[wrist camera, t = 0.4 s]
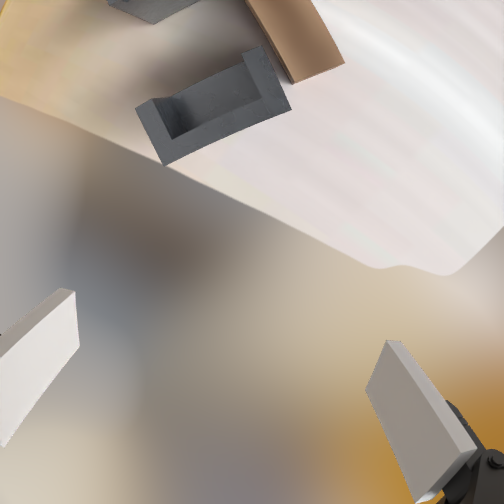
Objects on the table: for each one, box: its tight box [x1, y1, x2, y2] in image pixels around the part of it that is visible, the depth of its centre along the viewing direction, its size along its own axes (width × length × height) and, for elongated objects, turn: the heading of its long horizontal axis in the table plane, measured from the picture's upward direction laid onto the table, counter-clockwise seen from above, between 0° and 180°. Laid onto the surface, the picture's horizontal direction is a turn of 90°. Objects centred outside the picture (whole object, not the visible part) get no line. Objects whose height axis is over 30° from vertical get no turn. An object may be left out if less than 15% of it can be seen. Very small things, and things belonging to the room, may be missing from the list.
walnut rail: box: [244, 0, 345, 85], centre depth 24 cm, size 5×16×6 cm, turn 27°
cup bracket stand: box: [107, 0, 292, 166], centre depth 23 cm, size 10×20×13 cm, turn 24°
